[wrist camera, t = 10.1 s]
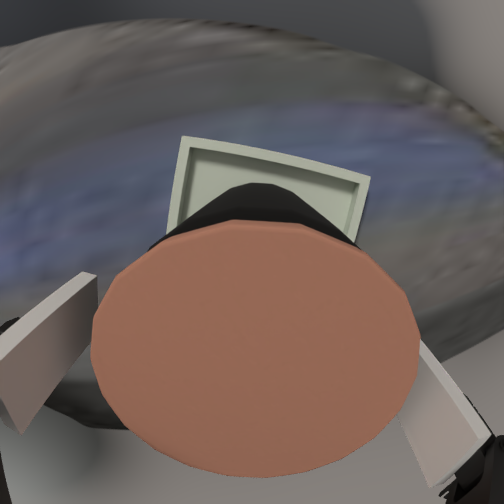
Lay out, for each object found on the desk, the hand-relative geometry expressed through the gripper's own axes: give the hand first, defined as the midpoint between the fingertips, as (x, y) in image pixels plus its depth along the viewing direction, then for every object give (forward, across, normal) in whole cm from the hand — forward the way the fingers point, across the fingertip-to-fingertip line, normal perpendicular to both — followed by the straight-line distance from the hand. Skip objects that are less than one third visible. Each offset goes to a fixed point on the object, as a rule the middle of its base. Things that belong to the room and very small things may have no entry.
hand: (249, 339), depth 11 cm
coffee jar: (+15, 0, 0) cm, 15 cm away
